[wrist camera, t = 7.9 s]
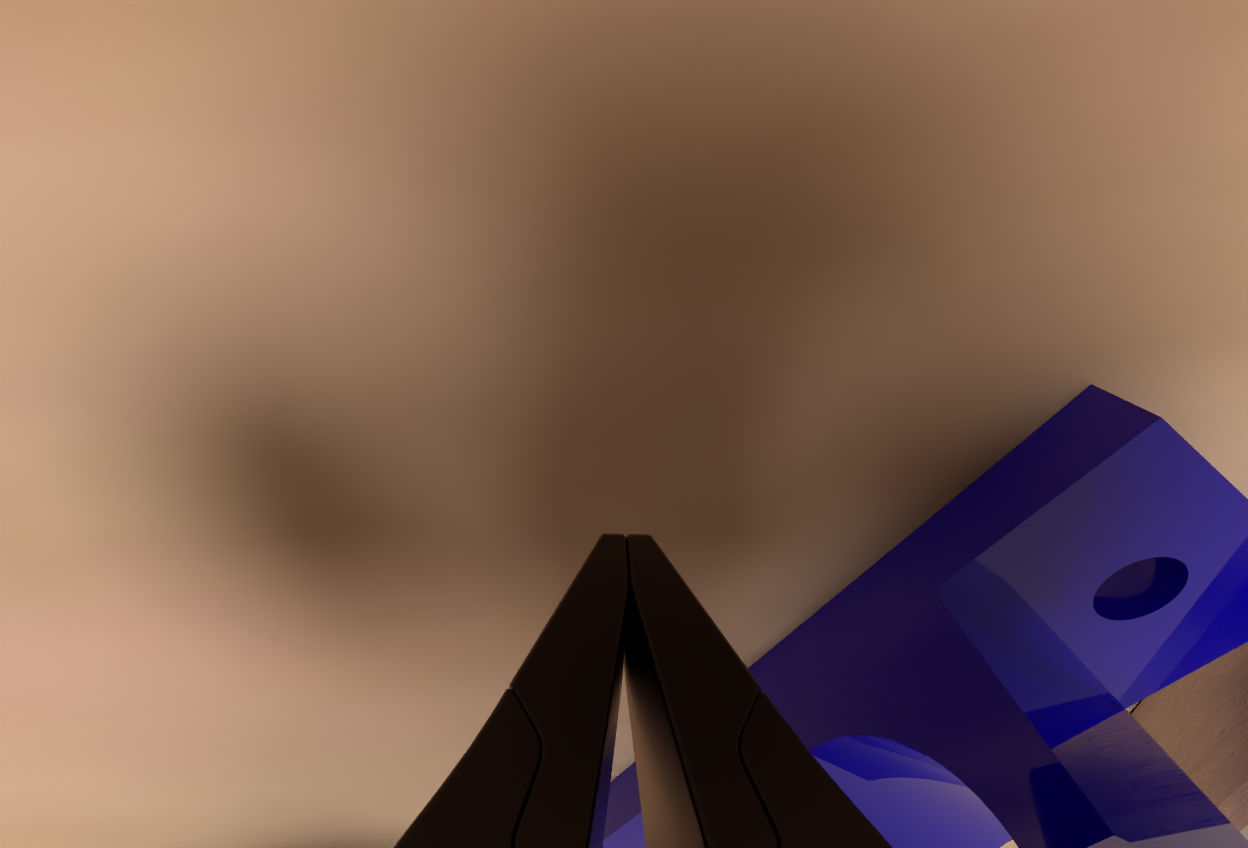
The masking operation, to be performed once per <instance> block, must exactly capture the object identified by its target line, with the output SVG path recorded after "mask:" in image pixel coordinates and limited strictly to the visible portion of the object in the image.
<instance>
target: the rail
mask: <svg viewBox="0 0 1248 848" xmlns="http://www.w3.org/2000/svg"><path fill="white" fill-rule="evenodd" d="M1131 716H1132V717H1133V718H1134V719H1135V720H1136V721H1137V722H1138V723H1139V724H1140V725H1141V726H1142V727H1143V728H1144V730H1145V731H1146V732H1147V733H1148V734H1149V735H1150V736H1151V737H1152V738H1153V739H1154V740H1155V741H1156V742H1157V744H1158V745H1159V746H1160V747H1161V748H1162V749H1163V750H1164V751H1165V752H1166V753H1167V754H1168V755H1169V756H1170V758H1171V759H1172V760H1173V761H1174V762H1175V763H1176V764H1177V765H1178V766H1179V767H1180V768H1181V769H1182V770H1183V772H1184V773H1185V774H1186V775H1187V776H1188V777H1189V778H1190V779H1191V780H1192V781H1193V782H1194V783H1195V784H1196V786H1197V787H1198V788H1199V789H1200V790H1201V791H1202V792H1203V793H1204V794H1205V795H1206V796H1207V797H1208V798H1209V800H1210V801H1211V802H1212V803H1213V804H1214V805H1215V806H1216V807H1217V808H1218V809H1219V810H1220V811H1221V812H1222V814H1223V815H1224V816H1225V817H1226V818H1227V819H1228V820H1229V821H1230V822H1231V823H1232V824H1233V825H1234V826H1235V828H1236V829H1237V830H1238V831H1239V832H1240V833H1241V834H1242V835H1243V836H1244V837H1245V838H1246V839H1247V840H1248V642H1246V643H1245V644H1243V645H1241V646H1239V647H1237V648H1235V649H1234V650H1232V651H1230V652H1228V653H1226V654H1225V655H1223V656H1221V657H1219V658H1217V659H1215V660H1214V661H1212V662H1210V663H1208V664H1206V665H1204V666H1203V667H1201V668H1199V669H1197V670H1195V671H1193V672H1192V673H1190V674H1188V675H1186V676H1184V677H1182V678H1181V679H1179V680H1177V681H1175V682H1173V683H1172V684H1170V685H1168V686H1166V687H1164V688H1162V689H1161V690H1159V691H1157V692H1155V693H1153V694H1151V695H1150V696H1148V697H1146V698H1144V699H1143V700H1142V702H1141V703H1140V704H1139V705H1138V706H1137V708H1136V709H1135V710H1134V711H1133V712H1132V714H1131Z"/></svg>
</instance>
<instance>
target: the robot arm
mask: <svg viewBox="0 0 1248 848" xmlns="http://www.w3.org/2000/svg"><path fill="white" fill-rule="evenodd" d="M623 664H624V669H625V680H626V689H627V697H628V705H629V713H630V721H631V729H632V738H633V746H634V754H635V762H636V770H637V778H638V786H639V794H640V802H641V810H642V819H643V827H644V835H645V843H646V848H893V847H892V846H891V845H890V844H889V843H888V842H887V841H886V839H885V838H884V837H883V836H882V835H881V834H880V833H879V831H878V830H877V829H876V828H875V827H874V826H873V825H872V823H871V822H870V821H869V820H868V819H867V818H866V817H865V816H864V814H863V813H862V812H861V811H860V810H859V809H858V808H857V806H856V805H855V804H854V803H853V802H852V801H851V800H850V798H849V797H848V796H847V795H846V794H845V793H844V792H843V791H842V789H841V788H840V787H839V786H838V785H837V784H836V782H835V781H834V780H833V779H832V778H831V776H830V775H829V774H828V773H827V772H826V771H825V769H824V768H823V767H822V766H821V765H820V763H819V762H818V761H817V760H816V759H815V758H814V756H813V755H812V754H811V753H810V752H809V750H808V749H807V748H806V747H805V745H804V744H803V743H802V741H801V740H800V739H799V738H798V736H797V735H796V734H795V732H794V731H793V730H792V728H791V727H790V726H789V724H788V723H787V722H786V720H785V719H784V718H783V717H782V715H781V714H780V713H779V711H778V710H777V708H776V707H775V706H774V704H773V703H772V701H771V700H770V699H769V697H768V696H767V694H766V693H765V692H761V687H760V685H759V684H758V682H757V681H756V680H755V678H754V677H753V675H752V674H751V673H750V671H749V670H748V669H747V667H746V666H745V664H744V663H743V662H742V660H741V659H740V657H739V656H738V655H737V653H736V652H735V651H734V649H733V648H732V646H731V645H730V644H729V642H728V641H727V640H726V638H725V637H724V635H723V634H722V633H721V631H720V630H719V628H718V627H717V626H716V624H715V623H714V622H713V620H712V619H711V617H710V616H709V615H708V613H707V612H706V611H705V609H704V608H703V606H702V605H701V604H700V602H699V601H698V599H697V598H696V597H695V595H694V594H693V593H692V591H691V590H690V588H689V587H688V586H687V584H686V583H685V582H684V580H683V579H682V577H681V576H680V575H679V573H678V572H677V571H676V569H675V568H674V566H673V565H672V564H671V562H670V561H669V559H668V558H667V557H666V555H665V554H664V553H663V551H662V550H661V548H660V547H659V546H658V544H657V543H656V542H655V540H654V539H653V537H652V536H650V535H648V534H629V535H628V536H627V538H626V536H625V535H624V534H610V533H605V534H602V535H601V536H600V538H599V539H598V541H597V543H596V544H595V546H594V547H593V549H592V551H591V552H590V554H589V556H588V557H587V559H586V560H585V562H584V564H583V565H582V567H581V569H580V570H579V572H578V574H577V575H576V577H575V578H574V580H573V582H572V583H571V585H570V587H569V588H568V590H567V592H566V593H565V595H564V596H563V598H562V600H561V601H560V603H559V605H558V606H557V608H556V610H555V611H554V613H553V614H552V616H551V618H550V619H549V621H548V623H547V624H546V626H545V628H544V629H543V631H542V632H541V634H540V636H539V637H538V639H537V641H536V642H535V644H534V645H533V647H532V649H531V650H530V652H529V654H528V655H527V657H526V659H525V660H524V662H523V663H522V665H521V667H520V668H519V670H518V672H517V673H516V675H515V677H514V678H513V680H512V681H511V683H510V685H509V688H510V689H507V690H506V691H505V692H504V694H503V696H502V697H501V699H500V701H499V702H498V704H497V705H496V707H495V709H494V710H493V712H492V714H491V715H490V717H489V718H488V720H487V721H486V723H485V724H484V726H483V727H482V729H481V730H480V732H479V733H478V735H477V736H476V738H475V740H474V741H473V743H472V744H471V746H470V747H469V749H468V750H467V751H466V753H465V754H464V755H463V757H462V758H461V759H460V761H459V762H458V764H457V765H456V766H455V768H454V769H453V770H452V772H451V773H450V774H449V776H448V777H447V778H446V780H445V781H444V783H443V784H442V785H441V787H440V788H439V789H438V791H437V792H436V793H435V794H434V796H433V797H432V798H431V800H430V801H429V802H428V803H427V805H426V806H425V807H424V809H423V810H422V811H421V812H420V814H419V815H418V816H417V818H416V819H415V820H414V821H413V823H412V824H411V825H410V827H409V828H408V829H407V831H406V832H405V833H404V834H403V836H402V837H401V838H400V840H399V841H398V842H397V843H396V845H395V846H394V847H393V848H603V840H604V831H605V823H606V814H607V806H608V797H609V789H610V780H611V772H612V763H613V755H614V746H615V738H616V729H617V721H618V712H619V704H620V695H621V687H622V676H623Z"/></svg>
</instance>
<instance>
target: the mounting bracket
mask: <svg viewBox="0 0 1248 848" xmlns="http://www.w3.org/2000/svg"><path fill="white" fill-rule="evenodd" d="M1246 642H1248V499H1247V498H1246V497H1245V496H1244V495H1243V494H1241V493H1240V492H1239V491H1238V490H1237V489H1236V488H1235V487H1234V486H1233V485H1232V484H1231V483H1230V482H1229V481H1228V480H1227V479H1226V478H1225V477H1224V476H1222V475H1221V474H1220V473H1219V472H1218V471H1217V470H1216V469H1215V468H1214V467H1213V466H1212V465H1211V464H1210V463H1209V462H1208V461H1207V460H1206V459H1205V458H1203V457H1202V456H1201V455H1200V454H1199V453H1198V452H1197V451H1196V450H1195V449H1194V448H1193V447H1192V446H1191V445H1190V444H1189V443H1188V442H1187V441H1186V440H1184V439H1183V438H1182V437H1181V436H1180V435H1179V434H1178V433H1177V432H1176V431H1175V430H1174V429H1173V428H1172V427H1171V426H1170V425H1169V424H1168V423H1167V422H1165V421H1164V420H1163V419H1162V418H1161V417H1159V416H1157V415H1155V414H1153V413H1151V412H1149V411H1147V410H1144V409H1142V408H1140V407H1138V406H1136V405H1134V404H1132V403H1130V402H1127V401H1125V400H1123V399H1121V398H1119V397H1117V396H1115V395H1113V394H1111V393H1108V392H1106V391H1104V390H1102V389H1100V388H1098V387H1096V386H1094V385H1092V384H1091V385H1090V386H1089V387H1088V388H1086V389H1085V390H1084V391H1083V392H1082V393H1080V394H1079V395H1078V396H1077V397H1076V398H1074V399H1073V400H1072V401H1071V402H1069V403H1068V404H1067V405H1066V406H1065V407H1063V408H1062V409H1061V410H1060V411H1059V412H1057V413H1056V414H1055V415H1054V416H1053V417H1051V418H1050V419H1049V420H1048V421H1047V422H1045V423H1044V424H1043V425H1042V426H1040V427H1039V428H1038V429H1037V430H1036V431H1034V432H1033V433H1032V434H1031V435H1030V436H1028V437H1027V438H1026V439H1025V440H1024V441H1022V442H1021V443H1020V444H1019V445H1018V446H1016V447H1015V448H1014V449H1013V450H1011V451H1010V452H1009V453H1008V454H1007V455H1005V456H1004V457H1003V458H1002V459H1001V460H999V461H998V462H997V463H996V464H995V465H993V466H992V467H991V468H990V469H989V470H987V471H986V472H985V473H984V474H982V475H981V476H980V477H979V478H978V479H976V480H975V481H974V482H973V483H972V484H970V485H969V486H968V487H967V488H966V489H964V490H963V491H962V492H961V493H960V494H958V495H957V496H956V497H955V498H954V499H952V500H951V501H950V502H949V503H947V504H946V505H945V506H944V507H943V508H941V509H940V510H939V511H938V512H937V513H935V514H934V515H933V516H932V517H931V518H929V519H928V520H927V521H926V522H925V523H923V524H922V525H921V526H920V527H918V528H917V529H916V530H915V531H914V532H912V533H911V534H910V535H909V536H908V537H906V538H905V539H904V540H903V541H902V542H900V543H899V544H898V545H897V546H896V547H894V548H893V549H892V550H891V551H889V552H888V553H887V554H886V555H885V556H883V557H882V558H881V559H880V560H879V561H877V562H876V563H875V564H874V565H873V566H871V567H870V568H869V569H868V570H867V571H865V572H864V573H863V574H862V575H860V576H859V577H858V578H857V579H856V580H854V581H853V582H852V583H851V584H850V585H848V586H847V587H846V588H845V589H844V590H842V591H841V592H840V593H839V594H838V595H836V596H835V597H834V598H833V599H831V600H830V601H829V602H828V603H827V604H825V605H824V606H823V607H822V608H821V609H819V610H818V611H817V612H816V613H815V614H813V615H812V616H811V617H810V618H809V619H807V620H806V621H805V622H804V623H802V624H801V625H800V626H799V627H798V628H796V629H795V630H794V631H793V632H792V633H790V634H789V635H788V636H787V637H786V638H784V639H783V640H782V641H781V642H780V643H778V644H777V645H776V646H775V647H774V648H772V649H771V650H770V651H769V652H767V653H766V654H765V655H764V656H763V657H761V658H760V659H759V660H758V661H757V662H755V663H754V664H753V665H752V666H751V667H749V668H748V670H749V671H750V673H751V674H752V675H753V677H754V678H755V680H756V681H757V682H758V684H759V685H760V687H761V692H765V693H766V694H767V696H768V697H769V699H770V700H771V701H772V703H773V704H774V706H775V707H776V708H777V710H778V711H779V713H780V714H781V715H782V717H783V718H784V719H785V720H786V722H787V723H788V724H789V726H790V727H791V728H792V730H793V731H794V732H795V734H796V735H797V736H798V738H799V739H800V740H801V741H802V743H803V744H804V745H805V747H806V748H807V749H808V750H809V752H810V753H811V754H812V755H813V756H814V758H815V759H816V760H817V761H818V762H819V763H820V765H821V766H822V767H823V768H824V769H825V771H826V772H827V773H828V774H829V775H830V776H831V778H832V779H833V780H834V781H835V782H836V784H837V785H838V786H839V787H840V788H841V789H842V791H843V792H844V793H845V794H846V795H847V796H848V797H849V798H850V800H851V801H852V802H853V803H854V804H855V805H856V806H857V808H858V809H859V810H860V811H861V812H862V813H863V814H864V816H865V817H866V818H867V819H868V820H869V821H870V822H871V823H872V825H873V826H874V827H875V828H876V829H877V830H878V831H879V833H880V834H881V835H882V836H883V837H884V838H885V839H886V841H887V842H888V843H889V844H890V845H891V846H892V847H893V848H1000V847H1001V846H1003V845H1004V844H1005V843H1007V842H1009V841H1011V840H1014V842H1015V843H1016V844H1017V846H1018V848H1248V840H1247V839H1246V838H1245V837H1244V836H1243V835H1242V834H1241V833H1240V832H1239V831H1238V830H1237V829H1236V828H1235V826H1234V825H1233V824H1232V823H1231V822H1230V821H1229V820H1228V819H1227V818H1226V817H1225V816H1224V815H1223V814H1222V812H1221V811H1220V810H1219V809H1218V808H1217V807H1216V806H1215V805H1214V804H1213V803H1212V802H1211V801H1210V800H1209V798H1208V797H1207V796H1206V795H1205V794H1204V793H1203V792H1202V791H1201V790H1200V789H1199V788H1198V787H1197V786H1196V784H1195V783H1194V782H1193V781H1192V780H1191V779H1190V778H1189V777H1188V776H1187V775H1186V774H1185V773H1184V772H1183V770H1182V769H1181V768H1180V767H1179V766H1178V765H1177V764H1176V763H1175V762H1174V761H1173V760H1172V759H1171V758H1170V756H1169V755H1168V754H1167V753H1166V752H1165V751H1164V750H1163V749H1162V748H1161V747H1160V746H1159V745H1158V744H1157V742H1156V741H1155V740H1154V739H1153V738H1152V737H1151V736H1150V735H1149V734H1148V733H1147V732H1146V731H1145V730H1144V728H1143V727H1142V726H1141V725H1140V724H1139V723H1138V722H1137V721H1136V720H1135V719H1134V718H1133V717H1132V716H1131V714H1130V713H1129V712H1128V711H1127V710H1126V708H1128V707H1130V706H1131V705H1133V704H1135V703H1137V702H1139V701H1140V700H1142V699H1144V698H1146V697H1148V696H1150V695H1151V694H1153V693H1155V692H1157V691H1159V690H1161V689H1162V688H1164V687H1166V686H1168V685H1170V684H1172V683H1173V682H1175V681H1177V680H1179V679H1181V678H1182V677H1184V676H1186V675H1188V674H1190V673H1192V672H1193V671H1195V670H1197V669H1199V668H1201V667H1203V666H1204V665H1206V664H1208V663H1210V662H1212V661H1214V660H1215V659H1217V658H1219V657H1221V656H1223V655H1225V654H1226V653H1228V652H1230V651H1232V650H1234V649H1235V648H1237V647H1239V646H1241V645H1243V644H1245V643H1246ZM603 848H646V843H645V835H644V827H643V819H642V810H641V802H640V794H639V786H638V778H637V770H636V762H635V763H633V764H632V765H631V766H630V767H629V768H627V769H626V770H625V771H624V772H622V773H621V774H620V775H619V776H618V777H616V778H615V779H614V780H613V781H612V782H610V789H609V797H608V806H607V814H606V823H605V831H604V840H603Z"/></svg>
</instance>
